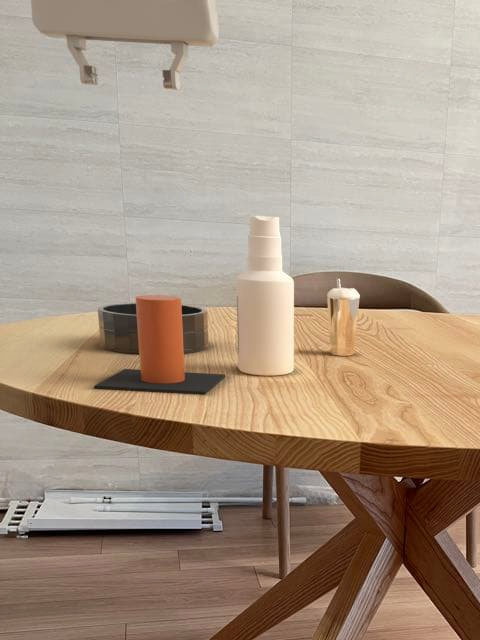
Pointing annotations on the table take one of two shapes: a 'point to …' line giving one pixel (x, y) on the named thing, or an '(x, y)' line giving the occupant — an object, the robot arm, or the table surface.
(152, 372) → the orange cylinder
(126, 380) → the mat
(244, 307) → the spray bottle
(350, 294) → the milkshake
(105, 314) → the pot
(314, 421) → the table surface
